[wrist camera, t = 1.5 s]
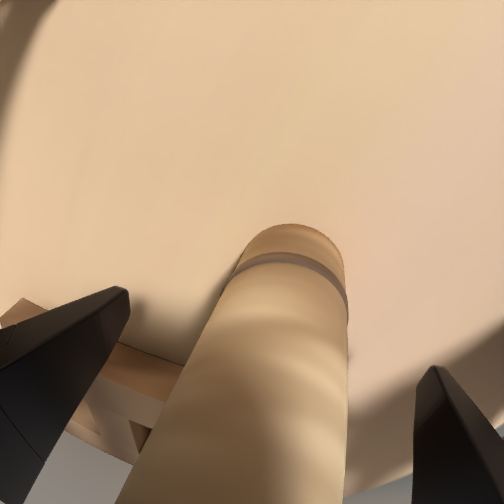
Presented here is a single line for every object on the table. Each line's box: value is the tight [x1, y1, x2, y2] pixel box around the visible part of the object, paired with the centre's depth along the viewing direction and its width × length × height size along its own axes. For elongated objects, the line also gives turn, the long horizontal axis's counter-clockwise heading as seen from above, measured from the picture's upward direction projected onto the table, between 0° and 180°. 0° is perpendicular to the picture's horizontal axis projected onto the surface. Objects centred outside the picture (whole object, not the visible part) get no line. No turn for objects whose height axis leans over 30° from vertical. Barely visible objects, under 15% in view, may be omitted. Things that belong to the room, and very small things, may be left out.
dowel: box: [115, 224, 348, 504], centre depth 7 cm, size 4×4×10 cm
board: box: [0, 298, 184, 465], centre depth 18 cm, size 16×12×2 cm
